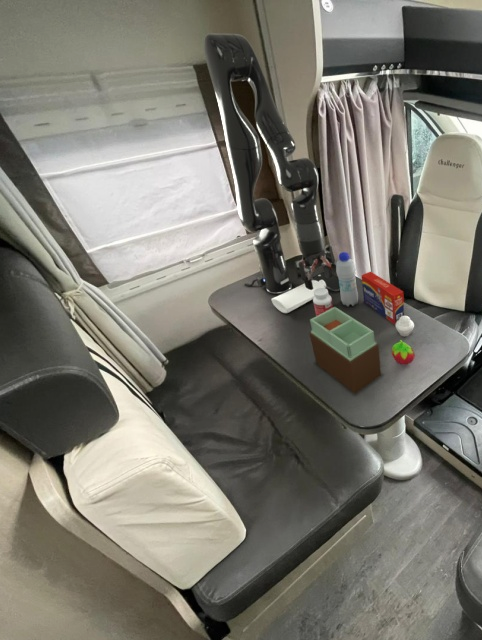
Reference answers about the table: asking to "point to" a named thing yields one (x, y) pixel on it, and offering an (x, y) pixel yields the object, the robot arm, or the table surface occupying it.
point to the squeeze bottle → (296, 297)
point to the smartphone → (329, 281)
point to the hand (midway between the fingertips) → (319, 283)
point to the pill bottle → (322, 301)
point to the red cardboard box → (383, 297)
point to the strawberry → (402, 353)
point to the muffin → (404, 326)
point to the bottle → (347, 279)
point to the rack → (345, 349)
